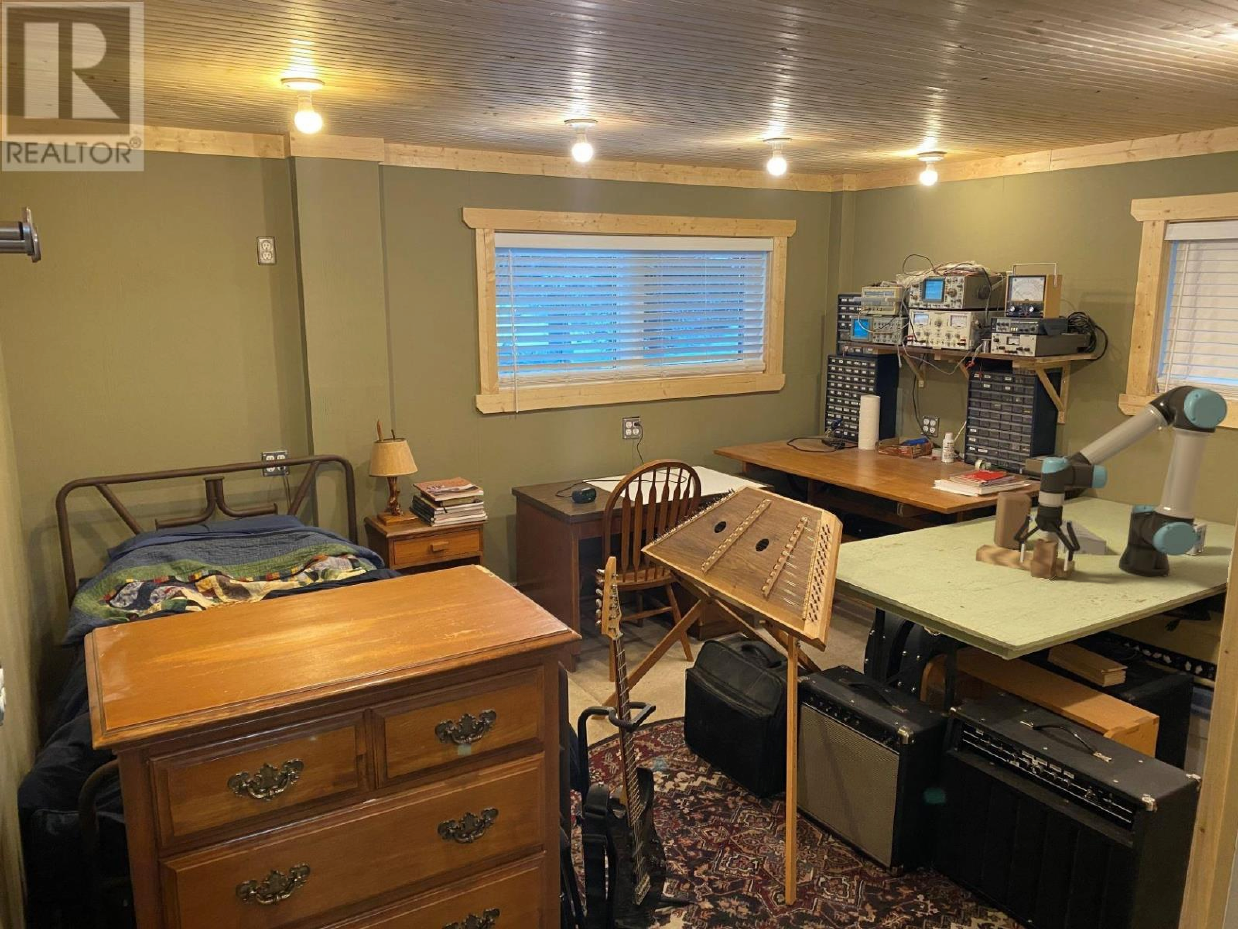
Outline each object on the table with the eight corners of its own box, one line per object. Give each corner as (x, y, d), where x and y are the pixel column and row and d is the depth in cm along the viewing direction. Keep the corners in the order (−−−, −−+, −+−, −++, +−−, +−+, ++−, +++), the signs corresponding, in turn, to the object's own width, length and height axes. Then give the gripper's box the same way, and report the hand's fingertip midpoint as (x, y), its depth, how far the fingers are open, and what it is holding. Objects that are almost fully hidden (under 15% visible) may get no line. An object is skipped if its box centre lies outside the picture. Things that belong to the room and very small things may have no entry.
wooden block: (1027, 551, 324) (1032, 498, 320) (998, 549, 326) (1003, 496, 322) (1020, 543, 333) (1026, 492, 329) (992, 542, 335) (997, 491, 331)
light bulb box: (1193, 556, 320) (1197, 528, 318) (1173, 552, 325) (1177, 524, 323) (1203, 551, 327) (1208, 523, 325) (1183, 547, 332) (1187, 519, 330)
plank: (1074, 572, 299) (1075, 560, 298) (1067, 578, 292) (1069, 566, 292) (983, 555, 318) (984, 544, 317) (975, 560, 311) (976, 549, 310)
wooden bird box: (1061, 570, 301) (1065, 533, 299) (1050, 580, 290) (1054, 542, 287) (1042, 566, 305) (1046, 530, 303) (1030, 576, 294) (1034, 538, 291)
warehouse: (1104, 556, 320) (1107, 536, 318) (1063, 554, 321) (1065, 534, 320) (1072, 534, 349) (1074, 516, 347) (1034, 533, 350) (1036, 514, 349)
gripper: (1095, 508, 285) (1087, 570, 289) (1014, 496, 300) (1008, 556, 304) (1090, 512, 279) (1082, 576, 283) (1007, 500, 294) (1001, 560, 298)
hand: (1043, 565), depth 293 cm, fingers open, 13 cm apart
